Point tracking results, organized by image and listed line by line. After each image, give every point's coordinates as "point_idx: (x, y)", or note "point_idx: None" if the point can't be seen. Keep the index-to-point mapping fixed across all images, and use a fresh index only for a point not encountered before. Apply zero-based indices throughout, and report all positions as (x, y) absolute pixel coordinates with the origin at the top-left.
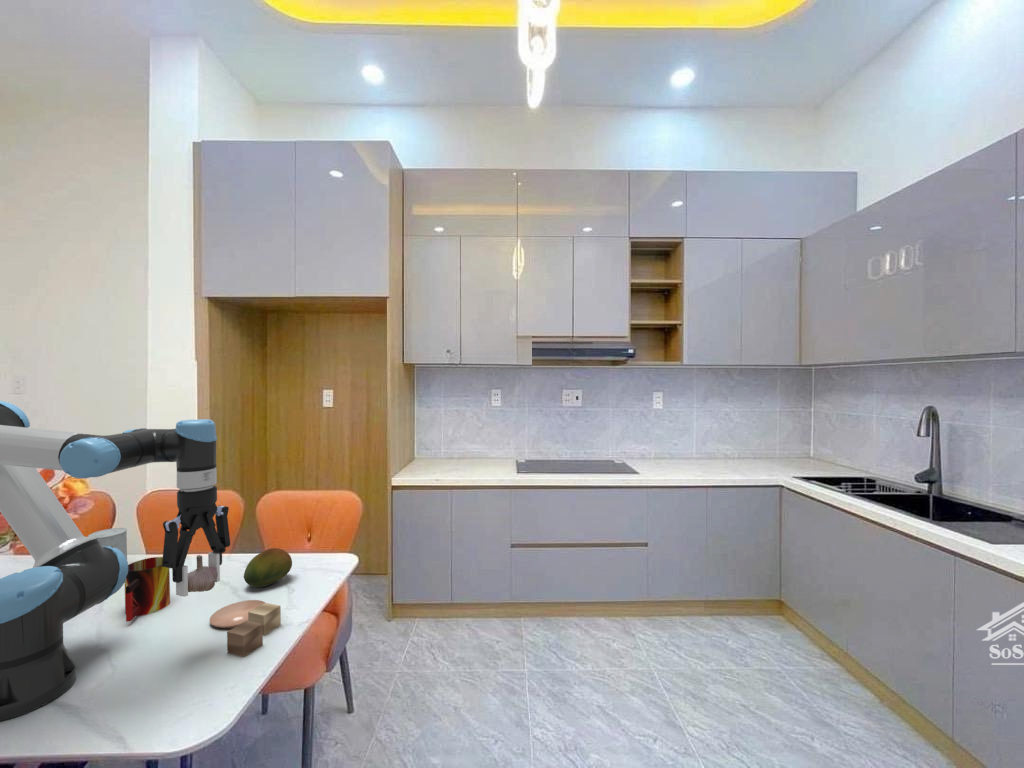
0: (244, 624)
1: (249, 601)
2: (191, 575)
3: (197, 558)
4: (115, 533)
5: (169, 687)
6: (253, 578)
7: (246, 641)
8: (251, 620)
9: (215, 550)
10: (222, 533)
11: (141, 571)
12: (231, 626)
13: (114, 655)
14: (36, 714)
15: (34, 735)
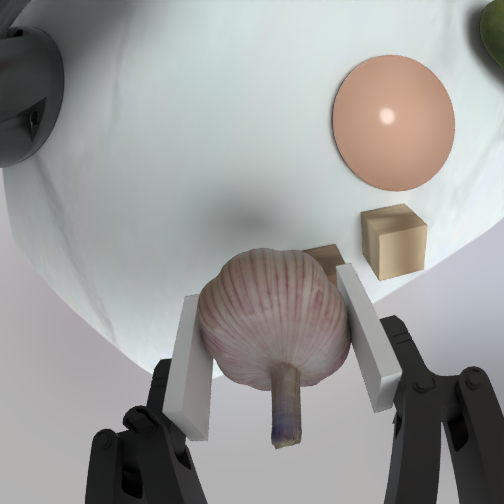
0: (333, 284)
1: (442, 96)
2: (238, 368)
3: (273, 438)
4: None
5: (172, 273)
6: (496, 50)
7: None
8: (371, 235)
9: (399, 406)
10: (462, 478)
11: None
12: (352, 170)
13: (130, 45)
14: (22, 175)
15: (27, 231)
